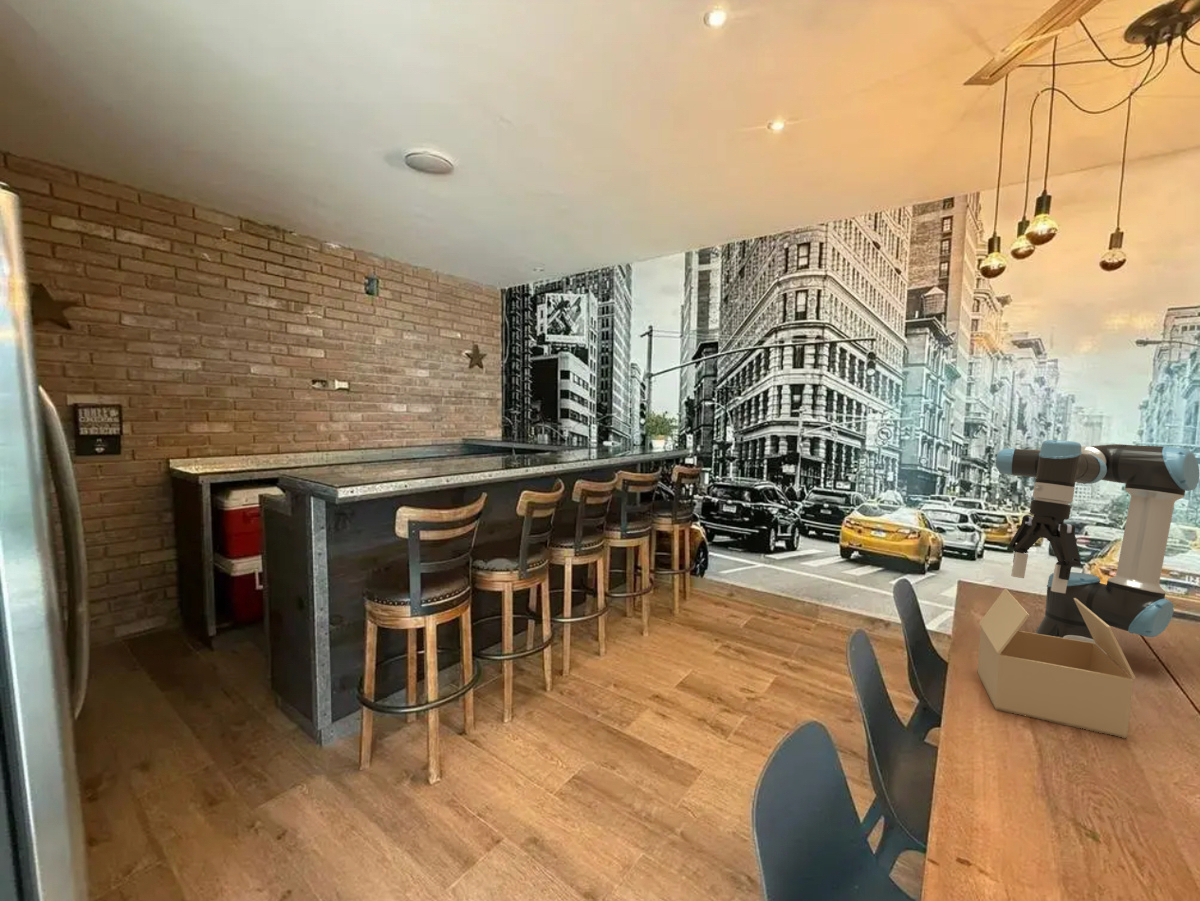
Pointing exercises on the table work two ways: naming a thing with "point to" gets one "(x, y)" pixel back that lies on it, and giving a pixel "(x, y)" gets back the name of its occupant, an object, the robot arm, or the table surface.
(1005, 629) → the far flap
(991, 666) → the carton
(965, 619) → the table surface
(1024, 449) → the robot arm
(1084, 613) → the near flap
